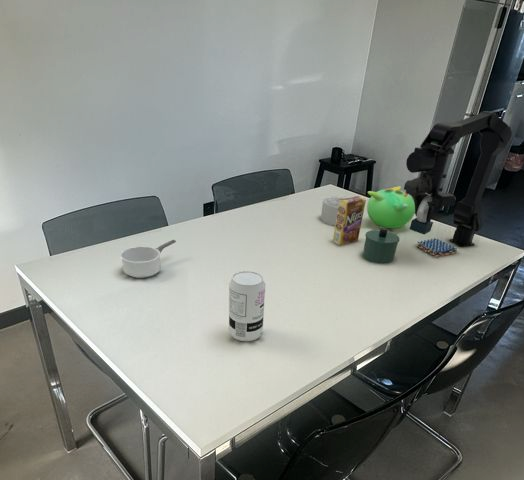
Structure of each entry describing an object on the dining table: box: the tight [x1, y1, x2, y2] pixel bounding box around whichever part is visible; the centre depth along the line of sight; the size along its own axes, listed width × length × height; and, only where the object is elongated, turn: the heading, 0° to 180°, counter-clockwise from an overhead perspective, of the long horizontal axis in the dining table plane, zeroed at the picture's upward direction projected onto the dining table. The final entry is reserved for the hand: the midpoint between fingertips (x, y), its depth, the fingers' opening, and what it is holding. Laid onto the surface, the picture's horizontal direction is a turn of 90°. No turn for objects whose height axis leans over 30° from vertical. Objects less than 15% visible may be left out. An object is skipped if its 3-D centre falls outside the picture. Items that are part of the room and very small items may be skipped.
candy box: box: [332, 195, 367, 246], centre depth 159 cm, size 9×4×15 cm, turn 123°
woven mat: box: [416, 237, 458, 258], centre depth 161 cm, size 10×11×2 cm
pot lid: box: [364, 226, 401, 244], centre depth 149 cm, size 11×11×4 cm
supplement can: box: [228, 270, 266, 342], centre depth 108 cm, size 8×8×15 cm
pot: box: [362, 237, 399, 265], centre depth 152 cm, size 10×10×7 cm
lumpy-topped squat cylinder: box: [320, 195, 347, 227], centre depth 179 cm, size 10×13×9 cm
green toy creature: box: [366, 186, 415, 229], centre depth 175 cm, size 18×17×15 cm
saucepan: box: [119, 239, 177, 279], centre depth 138 cm, size 12×20×6 cm, turn 145°
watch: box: [409, 196, 434, 236], centre depth 149 cm, size 6×8×11 cm
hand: (422, 219), depth 150 cm, fingers closed on watch, 5 cm apart
